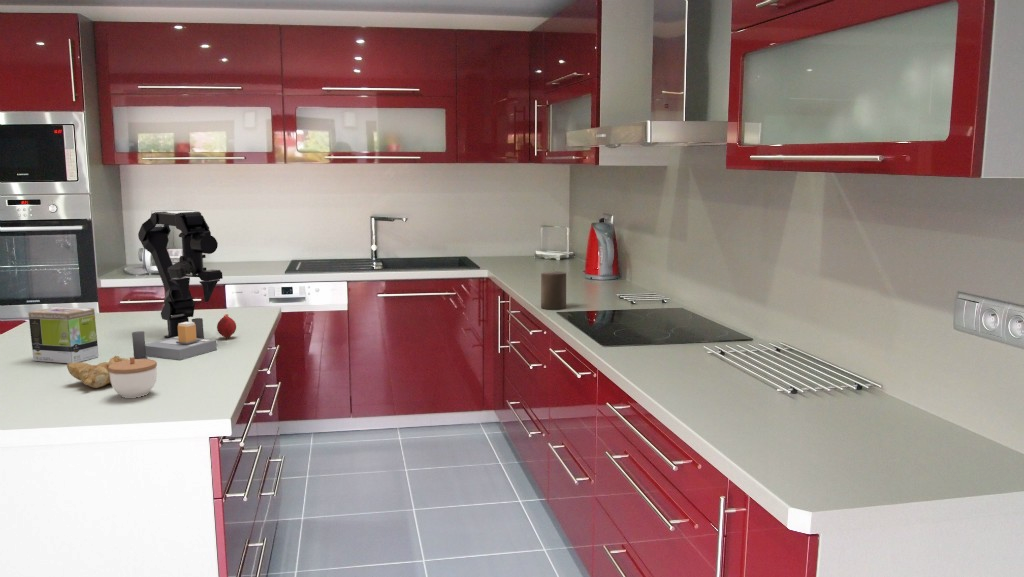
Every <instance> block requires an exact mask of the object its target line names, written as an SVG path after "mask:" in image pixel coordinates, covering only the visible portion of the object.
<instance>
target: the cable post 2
mask: <svg viewBox="0 0 1024 577" xmlns="http://www.w3.org/2000/svg"><path fill="white" fill-rule="evenodd" d="M191 322H194V323H195V324H196V337H197V338H200V339H205V337H204V336H205V335H204V323H203V322H204V318H202V317H201V318H200V317H196V318H192V319H191Z"/></svg>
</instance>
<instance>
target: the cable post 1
mask: <svg viewBox="0 0 1024 577" xmlns="http://www.w3.org/2000/svg"><path fill="white" fill-rule="evenodd" d="M131 338H132V347H133V348H132V349H133V357H134V359H148V356H146V348H145V344H146V338H145V331H142V330H141V331H140V330H139V331H133V332H131Z"/></svg>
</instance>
